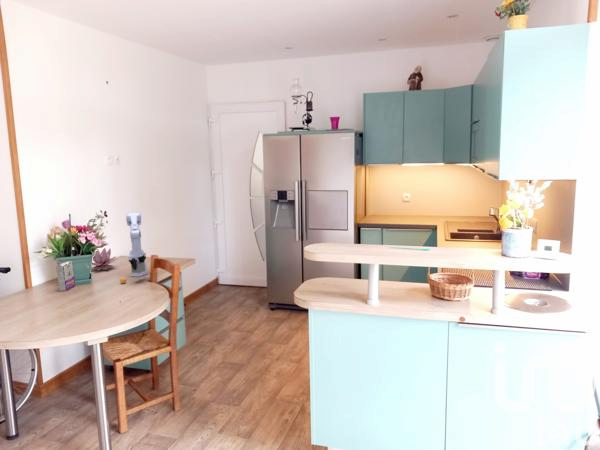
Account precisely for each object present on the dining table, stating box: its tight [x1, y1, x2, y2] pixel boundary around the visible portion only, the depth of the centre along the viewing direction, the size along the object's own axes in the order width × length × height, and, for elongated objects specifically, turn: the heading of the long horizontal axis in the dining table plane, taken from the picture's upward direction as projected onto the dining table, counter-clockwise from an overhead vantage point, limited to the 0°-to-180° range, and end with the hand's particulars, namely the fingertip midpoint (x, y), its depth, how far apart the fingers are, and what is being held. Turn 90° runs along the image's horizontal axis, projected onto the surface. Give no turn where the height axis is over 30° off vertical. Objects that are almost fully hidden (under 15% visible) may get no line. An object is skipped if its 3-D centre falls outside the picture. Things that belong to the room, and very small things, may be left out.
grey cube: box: [130, 261, 146, 274], centre depth 294 cm, size 6×6×6 cm
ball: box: [119, 277, 127, 285], centre depth 292 cm, size 4×4×4 cm
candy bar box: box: [55, 261, 76, 292], centre depth 282 cm, size 11×5×16 cm, turn 179°
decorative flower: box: [91, 247, 117, 272], centre depth 329 cm, size 21×21×15 cm
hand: (138, 268), depth 294 cm, fingers closed on grey cube, 6 cm apart
